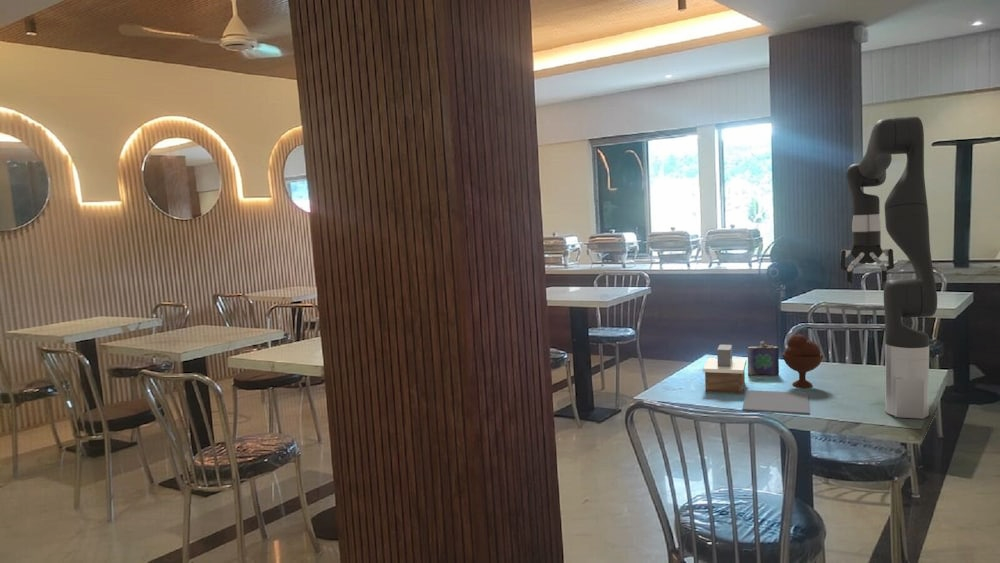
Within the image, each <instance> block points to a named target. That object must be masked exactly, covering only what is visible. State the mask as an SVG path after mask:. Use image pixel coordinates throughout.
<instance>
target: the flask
mask: <svg viewBox="0 0 1000 563" xmlns="http://www.w3.org/2000/svg"><path fill="white" fill-rule="evenodd" d="M759 343H760V344H759V346H748V347H747V374H748V376H753V377H755V376H759V377H760V376H761V377H765V376H771V377H772V376H775V377H777V376H779V374H780V369H779V368H780V362H779V357H780V356H779V355H780V354H779V352H780V351H779V350H780V349H779V347H778V346H776V345H775V346H774V345H773V344H771V345H769V344H766V343H765V341H764V340H761V341H759Z"/></svg>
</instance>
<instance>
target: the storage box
mask: <svg viewBox="0 0 1000 563" xmlns="http://www.w3.org/2000/svg"><path fill="white" fill-rule="evenodd" d="M704 378H705V379H704V384H705V387H704V388H705V390H704V391H705V393H717V394H718V393H720V394H737V395H738V394H740V395H742V394H743V392H744V387H745V382H746V378H745V372H744V373H743V374H741V373H716V372H704Z"/></svg>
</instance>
